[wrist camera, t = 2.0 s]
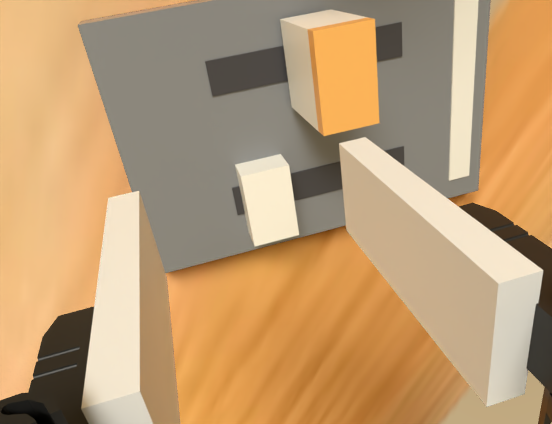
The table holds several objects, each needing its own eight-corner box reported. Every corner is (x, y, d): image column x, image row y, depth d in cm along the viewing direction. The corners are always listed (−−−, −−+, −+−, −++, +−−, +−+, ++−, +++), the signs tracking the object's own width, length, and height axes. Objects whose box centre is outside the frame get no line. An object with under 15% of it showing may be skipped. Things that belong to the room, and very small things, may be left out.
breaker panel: (473, -50, 30) (516, -52, 27) (462, 180, 38) (495, 201, 34) (81, 21, 26) (73, 29, 23) (158, 259, 34) (160, 292, 31)
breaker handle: (331, 9, 27) (375, 19, 22) (338, 96, 29) (379, 123, 24) (279, 19, 27) (312, 31, 22) (291, 107, 29) (323, 136, 24)
